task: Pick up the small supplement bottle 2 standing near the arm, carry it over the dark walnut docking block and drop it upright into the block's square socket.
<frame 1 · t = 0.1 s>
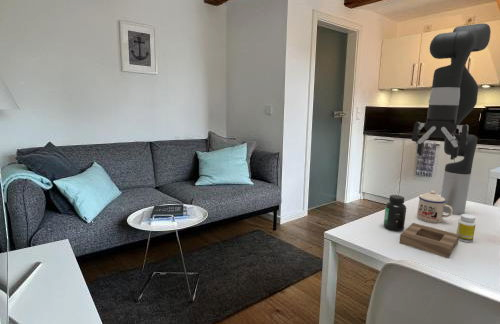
hand: (435, 157, 92), 29 cm above the table, tool pointing down, fingers open, 8 cm apart
teacup with lid: (433, 220, 119), on the table
docking block: (428, 242, 99), on the table
supplement bottle 2: (464, 239, 103), on the table
supplement bottle: (393, 228, 111), on the table
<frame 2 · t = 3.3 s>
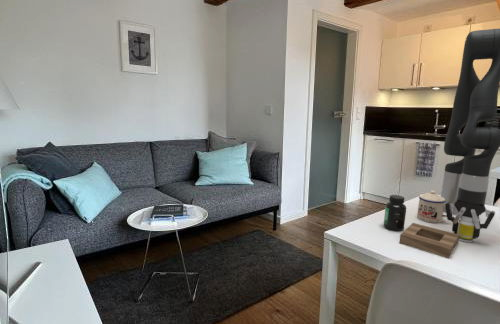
hand: (464, 235, 102), 1 cm above the table, tool pointing down, fingers closed on supplement bottle 2, 4 cm apart
supplement bottle 2: (464, 239, 103), on the table, touching gripper
everything else where it was.
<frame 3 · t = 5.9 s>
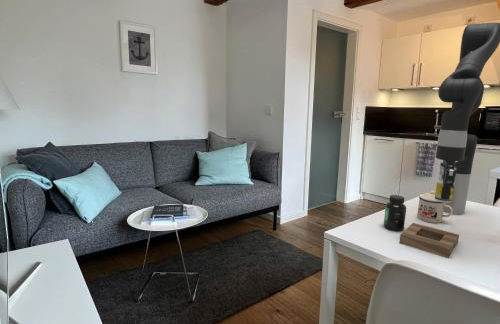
hand: (443, 196, 97), 16 cm above the table, tool pointing down, fingers closed on supplement bottle 2, 4 cm apart
supplement bottle 2: (442, 201, 97), point 14 cm above the table, touching gripper
everything else where it was.
when the fingers open (4 cm above the table, at t = 8.5 s): supplement bottle 2 drops 2 cm, resting in docking block.
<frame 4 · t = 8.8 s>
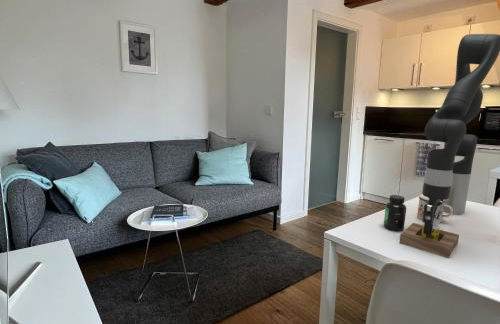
hand: (430, 230, 99), 4 cm above the table, tool pointing down, fingers open, 7 cm apart
supplement bottle 2: (428, 243, 99), resting in docking block
everything else where it was.
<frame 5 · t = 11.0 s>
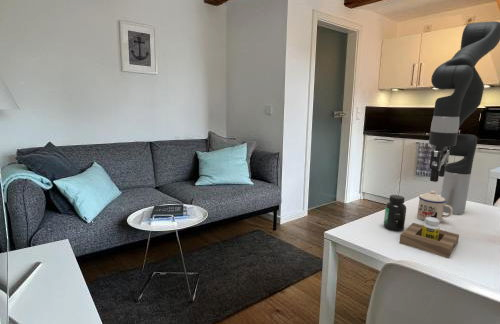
hand: (437, 178, 100), 21 cm above the table, tool pointing down, fingers open, 8 cm apart
nothing on the table moved.
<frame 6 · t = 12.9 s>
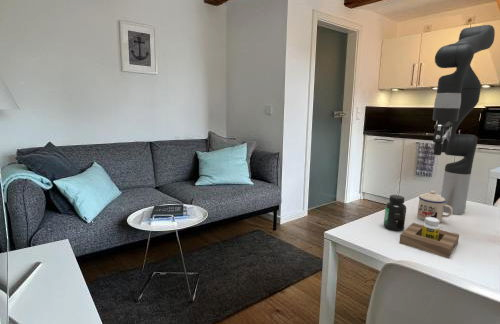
hand: (440, 153, 106), 28 cm above the table, tool pointing down, fingers open, 8 cm apart
nothing on the table moved.
at the end: supplement bottle 2 0.1 cm off-centre on the docking block, point 0.0 cm above the docking block's base; supplement bottle 2 tilted 0°; the gripper is holding nothing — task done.
